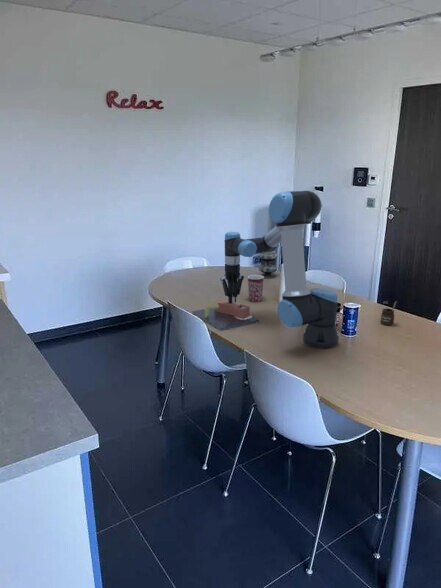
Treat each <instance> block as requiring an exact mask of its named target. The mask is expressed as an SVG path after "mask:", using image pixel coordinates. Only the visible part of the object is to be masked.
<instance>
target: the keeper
mask: <svg viewBox="0 0 441 588" xmlns="http://www.w3.org/2000/svg"><path fill="white" fill-rule="evenodd" d="M203 305H204V309H205V319H209V309H212V308H219V305H218V302H216V303H214V302H204V303H203Z"/></svg>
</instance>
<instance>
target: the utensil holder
mask: <svg viewBox="0 0 441 588" xmlns="http://www.w3.org/2000/svg"><path fill="white" fill-rule="evenodd" d="M397 302H398V301H396V300H395V301H394V303H393V306H392V308H389V307H385V306H382V307H383V309H382V310H381V311H382V312H381V314H380V324H381V325H383V326H387V327H390V326H393V325H394V321H395V310H394V308H395V307H396V304H397ZM384 303H387V301H384Z"/></svg>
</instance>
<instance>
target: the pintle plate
mask: <svg viewBox="0 0 441 588" xmlns="http://www.w3.org/2000/svg"><path fill="white" fill-rule="evenodd" d="M192 315H194V316H196V317H197V316H198V317H197V318H199V319H200V320H202V321H204V322H206V323H207V324H208V325H210V326H212V327H214V328H215V329H217V330H219V331H225V330H230V329H234V328H240V327H242V326H243V327H244V326H247V325H253V324H256V322H257V323H260V319H259V318H257V317H255V316H253V314H251V313H250V316H248V317H246V318H244V319H241V318H237V317H234V316H233V315H229V314H224V313H220V312H216V311H214V308H212V309H209V319H205V308H203V309H198V310H193V311H192Z"/></svg>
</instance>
